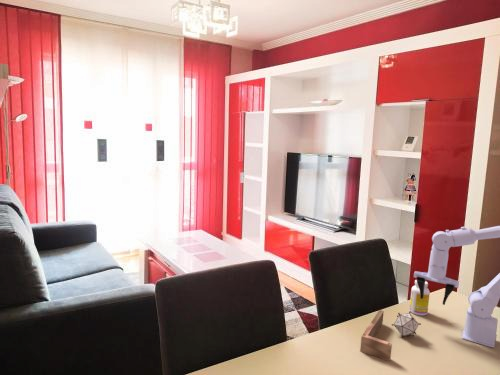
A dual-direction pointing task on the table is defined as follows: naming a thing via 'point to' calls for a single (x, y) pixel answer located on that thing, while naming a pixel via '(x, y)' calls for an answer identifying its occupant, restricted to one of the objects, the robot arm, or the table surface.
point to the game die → (406, 324)
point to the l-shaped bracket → (375, 340)
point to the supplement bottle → (419, 300)
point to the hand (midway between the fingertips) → (432, 300)
